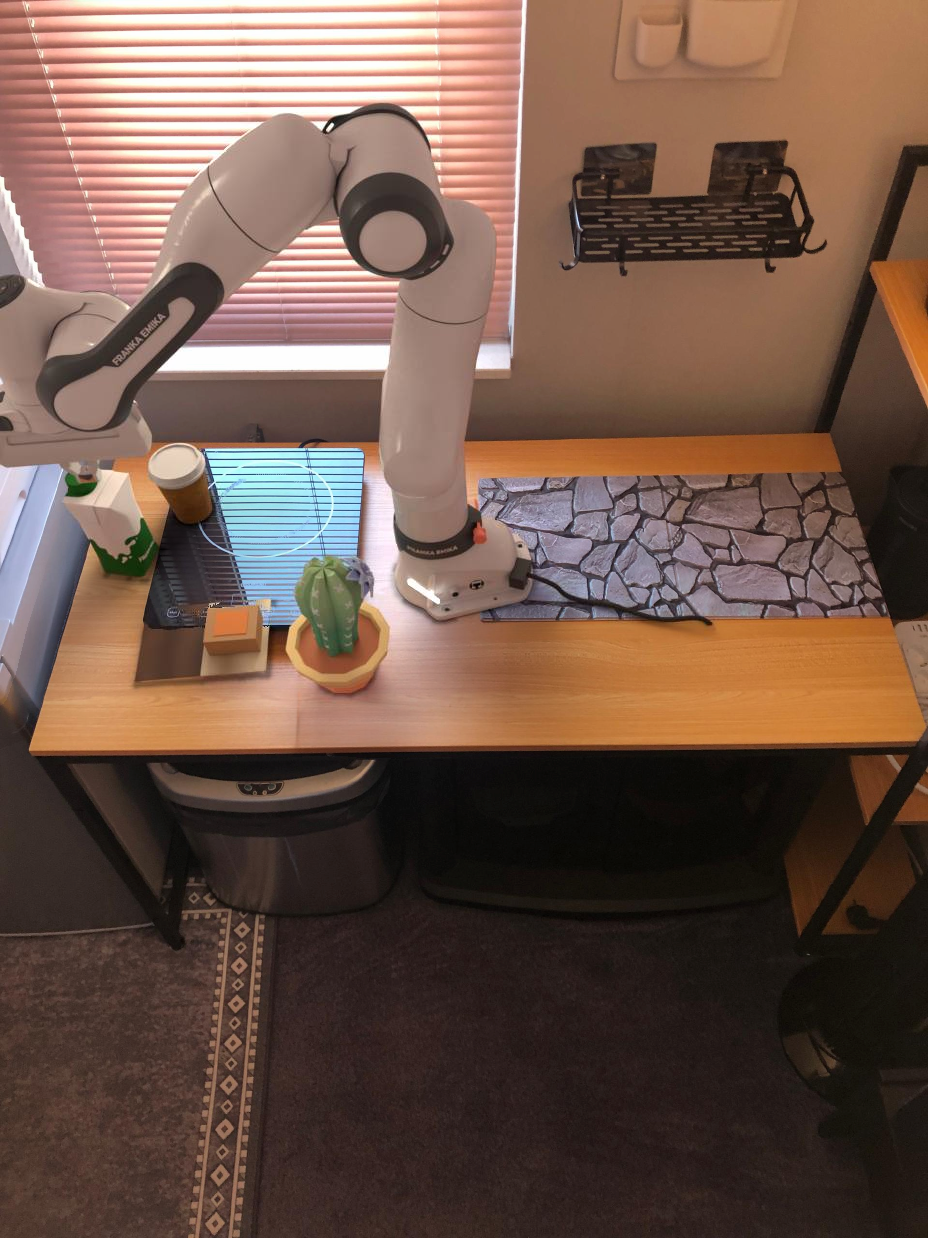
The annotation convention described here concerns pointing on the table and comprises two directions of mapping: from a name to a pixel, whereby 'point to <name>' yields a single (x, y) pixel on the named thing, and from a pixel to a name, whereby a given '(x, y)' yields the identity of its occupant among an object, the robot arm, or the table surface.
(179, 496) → the disposable coffee cup
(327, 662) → the potted cactus
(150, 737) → the table surface
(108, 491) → the milk carton
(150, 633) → the board
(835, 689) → the table surface
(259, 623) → the coffee packet
